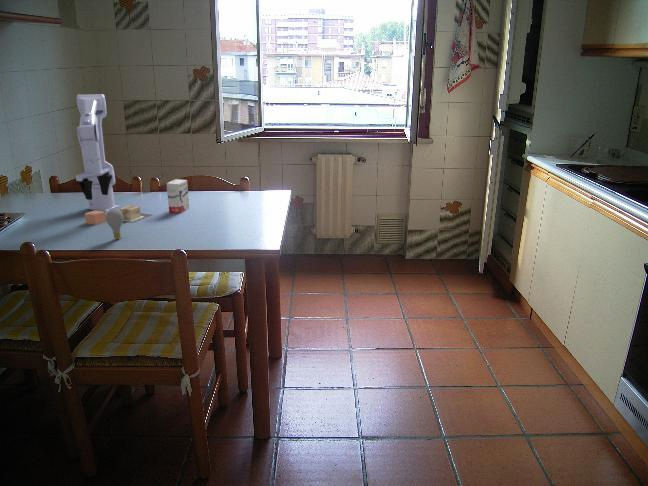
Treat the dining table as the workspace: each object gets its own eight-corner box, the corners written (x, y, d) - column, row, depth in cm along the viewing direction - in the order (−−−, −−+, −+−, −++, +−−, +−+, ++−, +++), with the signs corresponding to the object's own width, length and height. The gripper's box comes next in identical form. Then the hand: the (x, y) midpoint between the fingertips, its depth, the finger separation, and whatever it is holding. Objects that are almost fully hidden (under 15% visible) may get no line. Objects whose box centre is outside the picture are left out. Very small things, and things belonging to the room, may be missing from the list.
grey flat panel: (102, 219, 201) (102, 219, 200) (125, 211, 211) (125, 211, 211) (132, 223, 195) (132, 223, 195) (154, 215, 206) (154, 214, 206)
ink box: (180, 214, 207) (177, 183, 204) (168, 213, 208) (165, 183, 205) (190, 208, 215) (187, 179, 212) (178, 207, 216) (176, 178, 213)
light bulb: (111, 236, 181) (107, 207, 178) (128, 236, 181) (124, 207, 178) (106, 242, 176) (102, 212, 173) (123, 241, 176) (120, 211, 173)
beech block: (120, 219, 200) (119, 208, 199) (130, 215, 205) (129, 205, 203) (131, 220, 198) (130, 209, 197) (140, 216, 203) (139, 206, 202)
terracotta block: (85, 224, 196) (84, 213, 194) (96, 220, 200) (94, 210, 199) (96, 225, 194) (94, 215, 192) (106, 222, 198) (105, 211, 197)
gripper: (84, 163, 182) (90, 202, 186) (115, 156, 195) (120, 193, 199) (68, 162, 185) (75, 200, 189) (100, 155, 197) (105, 192, 202)
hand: (97, 197), depth 194 cm, fingers open, 7 cm apart
